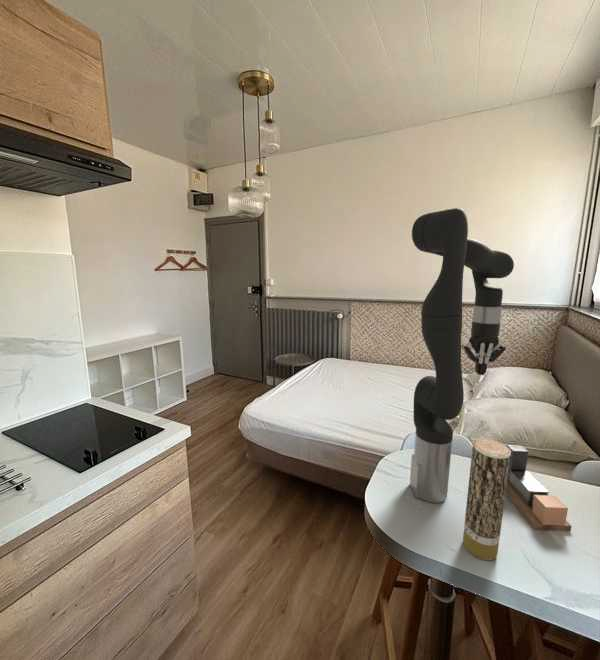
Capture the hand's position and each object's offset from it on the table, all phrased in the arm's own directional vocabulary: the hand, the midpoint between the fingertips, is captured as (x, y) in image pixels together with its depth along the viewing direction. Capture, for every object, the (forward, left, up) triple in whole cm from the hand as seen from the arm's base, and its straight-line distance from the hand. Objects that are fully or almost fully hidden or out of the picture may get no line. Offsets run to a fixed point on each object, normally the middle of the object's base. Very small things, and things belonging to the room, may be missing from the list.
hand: (480, 374), depth 99 cm
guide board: (+5, -20, -29) cm, 36 cm away
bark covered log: (-15, -36, -29) cm, 49 cm away
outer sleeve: (+5, -20, -28) cm, 34 cm away
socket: (+5, -28, -28) cm, 40 cm away
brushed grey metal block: (+5, -21, -27) cm, 34 cm away
